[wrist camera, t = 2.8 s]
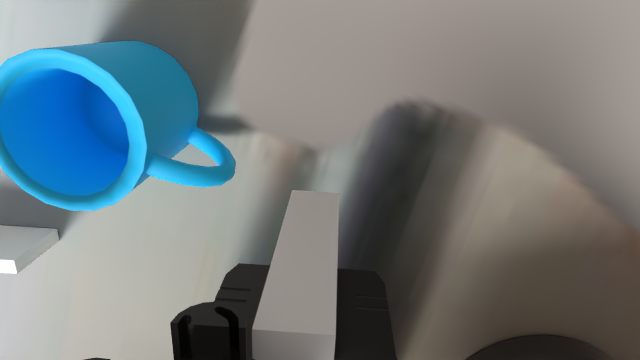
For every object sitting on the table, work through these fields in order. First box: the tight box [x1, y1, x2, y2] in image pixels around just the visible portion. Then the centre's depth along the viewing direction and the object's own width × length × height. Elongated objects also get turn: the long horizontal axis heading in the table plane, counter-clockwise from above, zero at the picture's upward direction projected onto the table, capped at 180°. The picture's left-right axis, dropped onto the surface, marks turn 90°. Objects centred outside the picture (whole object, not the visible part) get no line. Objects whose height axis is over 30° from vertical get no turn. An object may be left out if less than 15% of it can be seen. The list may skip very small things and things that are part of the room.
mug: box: [0, 41, 236, 211], centre depth 25 cm, size 12×8×8 cm
